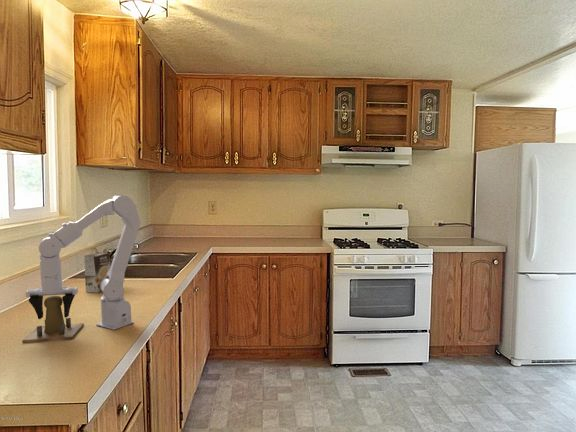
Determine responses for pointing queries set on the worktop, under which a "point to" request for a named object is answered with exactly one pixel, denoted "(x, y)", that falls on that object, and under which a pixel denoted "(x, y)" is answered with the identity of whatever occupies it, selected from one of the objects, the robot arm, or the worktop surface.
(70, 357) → the worktop surface
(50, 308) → the cork
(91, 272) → the coffee box
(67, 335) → the pin tray
